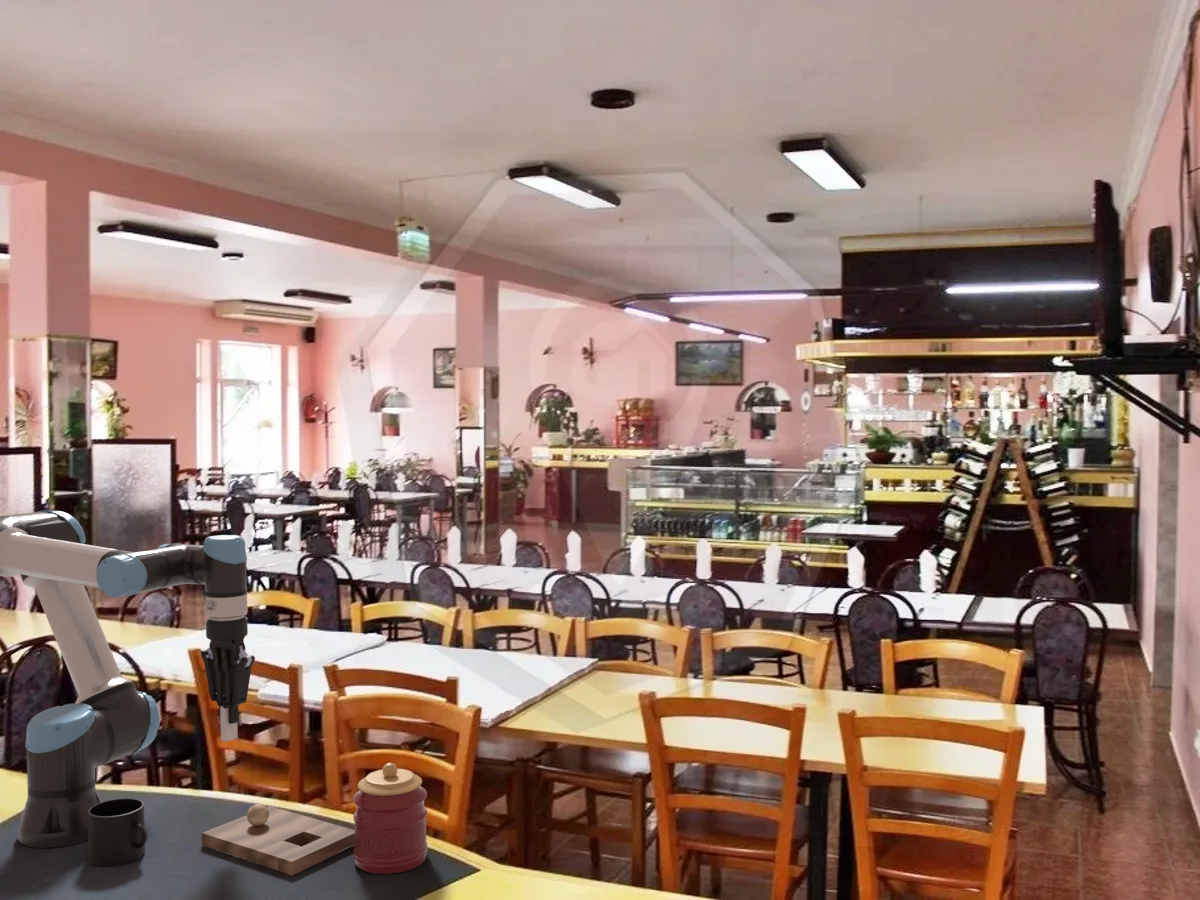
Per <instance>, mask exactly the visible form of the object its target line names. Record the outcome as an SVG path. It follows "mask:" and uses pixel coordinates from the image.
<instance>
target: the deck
mask: <svg viewBox="0 0 1200 900" xmlns="http://www.w3.org/2000/svg"><path fill="white" fill-rule="evenodd" d="M266 807H267V808H268V810H269V818H268V820H267V822H266V823H265V824H263V825H261V826H253V825H251V824H250V823H249V822H248V819H247V814H246V815H244V816H241V817H239V818H237V819H233V820H231V821H229V822H227V823H223V824H222V825H221V824H220V825H219V826H216V827H213V828H211V829H208V830H206V831H203V832H202V833H201V846H202V845H203V846H205V847H204V848H206V847H209V848H212V849H216V850H218V851H222V852H225V853H229V854H231V855H234V856H237V857H239V858H243V859H245V860H249V861H252V862H255V863H258V864H261V865H264V866H266V867H265V868H267V867H269V868H268V869H270V868H272V869H271V870H273V869H275V870H274V871H276V870H278V871H277V872H279V871H280V872H279V873H282V872H283V873H282V874H285V873H286V874H285V875H289V876H292V877H293V876H295V875H297V874H299V873H301V872H303V871H305V869H306V870H308V869H310V868H312V867H314V866H315V864H316V865H318V864H320V863H322V862H324V861H323V860H325V859H327V858H329V857H331V856H333V855H335V854H336V853H338V852H340V851H341V850H343V849H345V848H348V847H350V846H352V845H354V844H355V829H351V828H348V827H345V826H343V825H342V826H341V825H337V824H335V823H330V822H327V821H324V820H320V819H318V818H317V819H316V818H314V817H310V816H306V815H303V814H299V813H296V812H292V811H289V810H287V809H286V810H285V809H282V808H278V807H275V806H272V805H269V806H266ZM302 844H307V845H302ZM300 845H302V846H300ZM203 846H202V847H203ZM209 848H208V849H209ZM212 849H211V850H212ZM218 851H217V852H218ZM335 856H336V855H335ZM333 857H334V856H333ZM239 858H238V859H239ZM331 858H332V857H331ZM329 859H330V858H329ZM245 860H244V861H245ZM327 860H328V859H327ZM249 861H248V862H249ZM321 861H322V862H321ZM325 861H326V860H325ZM252 862H251V863H252ZM319 862H320V863H319ZM255 863H254V864H255ZM317 863H318V864H317ZM258 864H257V865H258ZM261 865H260V866H261ZM313 865H314V866H313ZM264 866H263V867H264ZM311 866H312V867H311ZM309 867H310V868H309ZM307 868H308V869H307ZM294 874H295V875H294Z"/></svg>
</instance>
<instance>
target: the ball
mask: <svg viewBox="0 0 1200 900" xmlns="http://www.w3.org/2000/svg"><path fill="white" fill-rule="evenodd" d="M267 807H268V806H266V805H264V804H263V803H256V804H254V805H252V806H250V808H249V809H248V811H247V814H246V815H247V819H248V822H249V823H250V824H251V825H253V826H261V825H263V824H265V823H266V822H267V820H268V818H269V810H268V808H267Z"/></svg>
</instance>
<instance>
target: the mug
mask: <svg viewBox="0 0 1200 900" xmlns="http://www.w3.org/2000/svg"><path fill="white" fill-rule="evenodd" d="M87 817H88V840H87V849H88V857H87V858H88V862H89V863H90V864H91V865H93V866H96V867H117V866H122V865H125V864H129V863H132V862H134V861H136V860H139V859H141V858H142V857H143V855H144V854H145V852H146V843H147V832H146V828H145V826H146V824H145V821H146V819H145V803H144V801H142V800H140V799H137V798H125V797H124V798H115V799H110V800H105V801H101V803H98V804H96V805H94V806H92V807H91V808H90V809H89V810H88V812H87Z"/></svg>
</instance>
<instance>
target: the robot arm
mask: <svg viewBox="0 0 1200 900" xmlns="http://www.w3.org/2000/svg"><path fill="white" fill-rule="evenodd" d="M83 529H84V528H83V527H82V526H81V523H79V521H78V520H77V519H76V518H75V517H74V516H73V515H71V514H69V513H67V512H65V511H61V510H39V511H34V512H25V513H17V514H10V515H9V514H7V515H0V577H2V578H3V577H5V578H11V577H15V576H18V575H20V576H19V577H20V578H21V581H22V583H23V585H24V586H27V587H30V588H32V589H34V590H35V592H36V595H37V598H38V600H39V602H40V605H41V607H42V609H43V612H44V614H45V617H46V620H47V621H48V624H49V627H50V630H51V631H52V634H53V636H54V638H55V641H56V644H57V646H58V648H59V652H60V653H61V655H62V658H63V660H64V663H65V666H66V668H67V670H68V673H69V675H70V677H71V680H72V682H73V685H74V687H75V690H76V692H77V699H76V701H75V703H73V702H72V703H67V704H64V705H62V706H61V705H56V706H54V707H53V706H52V707H50V708H47V709H44V710H42V711H40V712H38V713H37V714H35V715H34V716H32V718H31V719H30V720H29V721H28V724H27V726H26V738H25V740H24V741H25V742H24V743H25V749H26V750H25V752H26V771H27V772H26V776H27V780H26V782H27V798H26V803H25V805H24V809H23V812H22V815H21V819H20V821H19V824H18V829H17V830H18V831H17V832H18V833H17V834H18V838H17V839H18V842H19V844H21V845H23V846H26V847H30V848H43V849H44V848H58V847H65V846H71V845H74V844H78V843H81V842H85V841H88V817H87V812H88V810H89V809H90V808H91V807H92V806H94V805H96V804H98V803H101V802H102V801H101V799H100V796H99V794H98V791H97V788H96V768H99V767H100V766H101V767H102V766H103V765H106V764H108V763H111V762H113V761H114V762H115V761H116V760H119V759H121V758H122V759H123V758H124V757H126V756H127V757H131V756H132V755H135V754H136V753H138V752H139V751H142V750H143V749H145V748H147V747H148V746H150V745H151V744H152V742H153V741H154V740H155V739H156V737H157V735H158V730H159V728H160V722H161V721H160V720H161V719H160V718H161V717H160V711H159V708H158V705H157V703H156V701H155V699H154V698H153V697H152V695H148V693H147V692H143V691H139V690H137V688H136V685H135V683H134V682H133V680H131V679H128V678H126V677H124V676H122V674H121V672H120V669H119V666H118V664H117V662H116V660H115V658H114V657H115V656H114V654H113V652H112V650H111V647H110V644H109V642H108V640H107V638H106V636H105V634H104V631H103V628H102V626H101V624H100V621H99V619H98V616H97V613H96V612H95V609H94V607H93V604H92V602H91V599H90V597H89V595H88V593H87V590H86V588H85V586H86V587H91V588H95V589H97V588H98V589H100V591H101V592H103V593H104V594H105V596H108V597H111V598H120V597H126V598H127V597H131V596H134V595H138V594H142V593H147V592H151V591H156V590H159V589H160V590H161V589H166V588H171V587H174V586H180V585H185V584H186V585H187V584H189V585H203V586H204V592H205V593H204V594H205V616H206V617H207V619H206V621H205V636H206V638H207V639H208V640H210V642H209V644H208V645H209V647H208V648H207V649H204V650H201V651H200V656H201V658H202V661H203V664H204V670H205V674H206V681H207V685H208V692H209V697H210V700H211V702H214V701H215V702H216V705H217V706H218V719H219V722H220V741H221V742H222V741H223V742H229V741H232V740H237V739H238V738H239V737H238V734H239V733H238V723H239V707H240V705H242V704H245V703H246V702H247V699H248V692H249V684H250V679H251V673H252V667H253V664H254V663H255V660H256V657H255V655H253V654H252V655H249V654H248V653H247V652H246V646H245V642H244V640H245V637H247V636H248V632H249V631H248V627H249V626H248V618H247V616H246V615H247V614H248V593H247V592H248V591H247V560H248V559H247V558H248V556H247V550H246V541H245V539H244V538H243V537H242V536H241V535H236V534H231V535H230V534H220V535H218V534H217V535H213V536H210V535H209V536H207V537H206V538H205V539H204V541H203V542H204V543H203V545H199V544H198V545H196V544H185V543H180V542H175V543H163V544H161V545H159V546H158V547H157V548H155V549H147V550H143V551H142V550H141V551H127V550H121V549H120V550H119V549H116V548H110V547H109V548H108V547H105V546H104V547H103V546H97V545H91V544H85V543H86V535H85V531H84V530H83Z"/></svg>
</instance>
